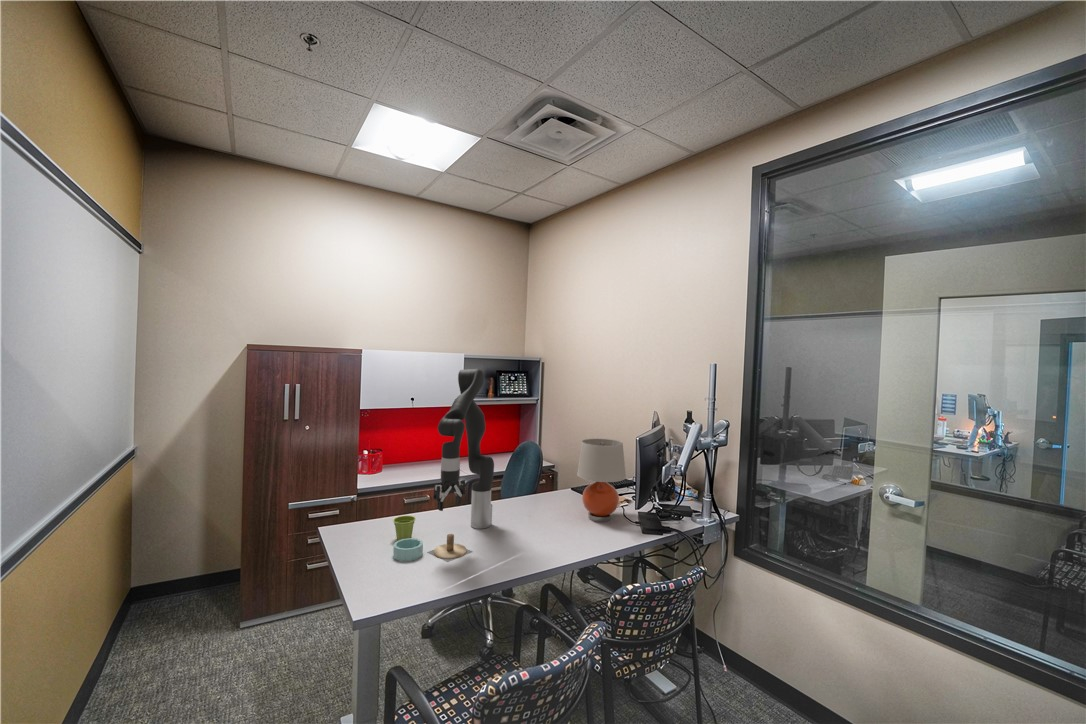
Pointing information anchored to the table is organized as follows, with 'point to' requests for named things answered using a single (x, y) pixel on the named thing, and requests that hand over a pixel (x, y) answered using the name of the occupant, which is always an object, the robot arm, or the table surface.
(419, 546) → the bowl
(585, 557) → the table surface
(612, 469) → the lamp
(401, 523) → the plant pot
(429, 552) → the mat
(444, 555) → the lid
